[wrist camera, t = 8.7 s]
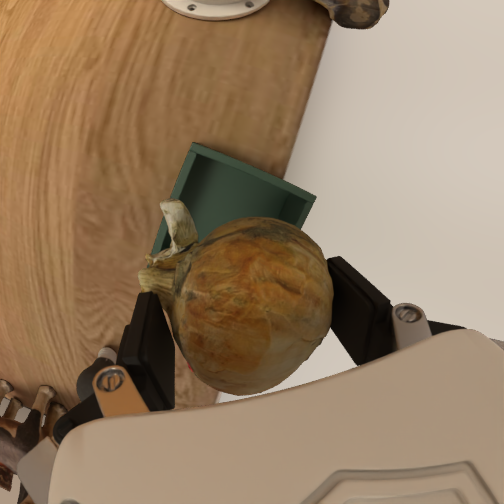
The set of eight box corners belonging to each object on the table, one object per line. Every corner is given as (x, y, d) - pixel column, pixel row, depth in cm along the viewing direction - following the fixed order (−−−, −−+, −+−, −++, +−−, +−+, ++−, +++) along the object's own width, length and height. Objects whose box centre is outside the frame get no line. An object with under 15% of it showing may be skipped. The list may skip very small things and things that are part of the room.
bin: (193, 141, 24) (192, 141, 19) (297, 186, 28) (317, 196, 23) (153, 248, 27) (146, 269, 23) (251, 280, 31) (262, 304, 26)
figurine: (92, 414, 36) (79, 560, 8) (13, 405, 32) (-17, 513, 5) (65, 377, 32) (30, 545, 4) (-14, 371, 28) (-58, 484, 1)
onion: (310, 277, 17) (184, 287, 17) (317, 165, 11) (133, 189, 11) (326, 399, 12) (172, 403, 12) (370, 349, 6) (76, 354, 6)
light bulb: (90, 329, 29) (69, 387, 20) (131, 341, 31) (119, 402, 22) (90, 358, 31) (74, 413, 22) (127, 368, 33) (118, 426, 24)
